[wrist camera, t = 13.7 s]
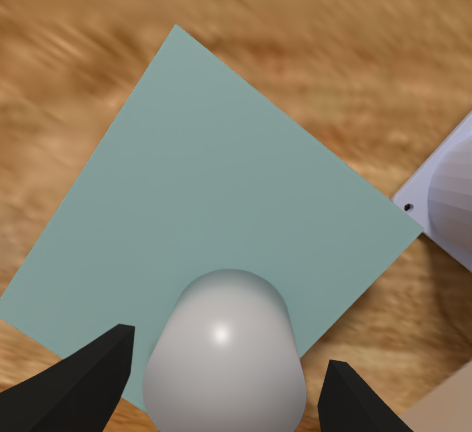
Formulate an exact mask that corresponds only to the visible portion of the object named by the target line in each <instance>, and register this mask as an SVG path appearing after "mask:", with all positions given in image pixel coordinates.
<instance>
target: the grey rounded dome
mask: <svg viewBox="0 0 472 432" xmlns="http://www.w3.org/2000/svg"><path fill="white" fill-rule="evenodd" d="M142 393H143V400H144V404H145V408H146V410H147V413H148V415H149V417H150V419H151V420H152V422H153V424H154V425H155V426H156V428H157V429H158V430H159V431H160V432H294V431H295V430H296V428H297V426H298V425H299V423H300V421H301V419H302V416H303V414H304V411H305V406H306V398H307V392H306V383H305V379H304V375H303V371H302V367H301V362H300V358H299V354H298V350H297V346H296V341H295V337H294V333H293V329H292V325H291V320H290V316H289V312H288V308H287V306H286V303H285V301H284V299H283V297H282V296H281V294H280V293H279V292H278V290H277V289H276V288H275V287H274V286H273V285H272V284H271V283H269V282H268V281H267V280H265V279H264V278H262V277H260V276H258V275H256V274H254V273H251V272H248V271H244V270H238V269H221V270H216V271H212V272H209V273H206V274H204V275H202V276H200V277H198V278H197V279H195V280H194V281H192V282H191V283H190V284H189V285H188V286H187V287H186V288H185V289H184V291H183V292H182V293H181V295H180V297H179V298H178V300H177V302H176V304H175V307H174V309H173V311H172V313H171V315H170V317H169V319H168V321H167V323H166V325H165V328H164V330H163V332H162V334H161V336H160V338H159V340H158V342H157V344H156V346H155V349H154V351H153V353H152V355H151V357H150V359H149V361H148V364H147V366H146V368H145V372H144V376H143V383H142Z"/></svg>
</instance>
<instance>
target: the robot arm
mask: <svg viewBox="0 0 472 432" xmlns="http://www.w3.org/2000/svg"><path fill="white" fill-rule="evenodd" d="M391 201H392V202H393V203H394V204H396V205H397V206H398V207H399V208H401V209H402V210H403V211H404V212H405V213H407V214H408V215H409V216H410V217H411V218H413V219H414V220H415V221H416V222H418V223H419V224H420V225H421V226H422V227H424V228H425V229H424V230H423V233H424V234H425V235H426V236H427V237H429V238H430V239H431V240H432V241H434V242H435V243H436V244H437V245H438V246H440V247H441V248H442V249H443V250H444V251H446V252H447V253H448V254H449V255H451V256H452V257H453V258H454V259H455V260H457V261H458V262H459V263H460V264H462V265H463V266H464V267H465V268H466V269H468V270H469V271H470V272H471V273H472V110H471V111H470V113H469V114H468V115H467V116H466V117H465V118H464V119H463V120H462V121H461V122H460V123H459V125H458V126H457V127H456V128H455V129H454V130H453V131H452V132H451V133H450V134H449V136H448V137H447V138H446V139H445V140H444V141H443V142H442V143H441V144H440V145H439V147H438V148H437V149H436V150H435V151H434V152H433V153H432V154H431V155H430V156H429V157H428V159H427V160H426V161H425V162H424V163H423V164H422V165H421V166H420V167H419V168H418V170H417V171H416V172H415V173H414V174H413V175H412V176H411V177H410V178H409V179H408V180H407V182H406V183H405V184H404V185H403V186H402V187H401V188H400V189H399V190H398V191H397V193H396V194H395V195H394V196H393V197H392V199H391ZM407 204H410V208H409V210H407V211H405V210H404V207H405V205H407ZM134 336H135V326H131V325H125V324H118V325H116V326H114V327H113V328H111V329H110V330H108V331H107V332H105V333H104V334H102V335H101V336H99V337H98V338H96V339H95V340H93V341H92V342H90V343H89V344H87V345H86V346H84V347H83V348H81V349H79V350H78V351H76V352H75V353H73V354H72V355H70V356H68V357H67V358H65V359H63V360H61V361H60V362H58V363H56V364H55V365H53V366H51V367H49V368H48V369H46V370H44V371H43V372H41V373H39V374H37V375H35V376H33V377H31V378H29V379H27V380H26V381H24V382H21V383H19V384H17V385H15V386H13V387H11V388H9V389H7V390H5V391H3V392H1V393H0V432H102V431H103V430H104V428H105V426H106V424H107V422H108V421H109V419H110V417H111V415H112V413H113V412H114V410H115V408H116V406H117V404H118V403H119V400H120V398H121V396H122V393H123V391H124V389H125V386H126V384H127V382H128V379H129V377H130V374H131V366H132V356H133V346H134ZM317 407H318V414H319V421H320V427H321V432H413V431H412V430H411V429H410V428H409V427H408V426H407V425H406V424H405V423H404V422H403V421H402V420H401V419H400V418H399V417H398V416H397V415H396V414H395V413H394V412H393V411H392V410H391V409H390V408H389V407H388V406H387V405H386V404H385V403H384V402H383V400H382V399H381V398H380V397H379V396H378V395H377V394H376V393H375V392H374V391H373V390H372V389H371V388H370V387H369V385H368V384H367V383H366V382H365V381H364V380H363V379H362V378H361V377H360V376H359V375H358V374H357V373H356V371H355V370H354V369H353V368H352V367H351V366H350V365H349V364H348V363H347V362H342V361H336V360H330V361H329V364H328V368H327V372H326V376H325V379H324V383H323V387H322V391H321V394H320V398H319V402H318V405H317Z"/></svg>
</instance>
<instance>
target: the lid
mask: <svg viewBox="0 0 472 432" xmlns="http://www.w3.org/2000/svg"><path fill="white" fill-rule="evenodd" d="M424 229H425V228H424V227H422V226H421V225H420V224H419V223H418V222H416V221H415V220H414V219H413V218H411V217H410V216H409V215H408V214H407V213H405V212H404V211H403V210H402V209H401V208H399V207H398V206H397V205H396V204H394V203H393V202H392V201H391V200H390V199H388V198H387V197H386V196H385V195H384V194H382V193H381V192H380V191H379V190H377V189H376V188H375V187H374V186H373V185H371V184H370V183H369V182H368V181H366V180H365V179H364V178H363V177H362V176H360V175H359V174H358V173H357V172H356V171H354V170H353V169H352V168H351V167H349V166H348V165H347V164H346V163H345V162H343V161H342V160H341V159H340V158H339V157H337V156H336V155H335V154H334V153H332V152H331V151H330V150H329V149H328V148H326V147H325V146H324V145H323V144H322V143H320V142H319V141H318V140H317V139H315V138H314V137H313V136H312V135H311V134H309V133H308V132H307V131H306V130H305V129H303V128H302V127H301V126H300V125H298V124H297V123H296V122H295V121H294V120H292V119H291V118H290V117H289V116H288V115H286V114H285V113H284V112H283V111H281V110H280V109H279V108H278V107H277V106H275V105H274V104H273V103H272V102H271V101H269V100H268V99H267V98H266V97H264V96H263V95H262V94H261V93H260V92H258V91H257V90H256V89H255V88H254V87H252V86H251V85H250V84H249V83H247V82H246V81H245V80H244V79H243V78H241V77H240V76H239V75H238V74H236V73H235V72H234V71H233V70H232V69H230V68H229V67H228V66H227V65H226V64H224V63H223V62H222V61H221V60H219V59H218V58H217V57H216V56H215V55H213V54H212V53H211V52H210V51H209V50H207V49H206V48H205V47H204V46H202V45H201V44H200V43H199V42H198V41H196V40H195V39H194V38H193V37H192V36H190V35H189V34H188V33H187V32H185V31H184V30H183V29H182V28H181V27H179V26H178V25H177V24H175V26H174V27H173V29H172V30H171V32H170V34H169V35H168V37H167V38H166V40H165V41H164V43H163V44H162V46H161V48H160V49H159V51H158V52H157V54H156V55H155V57H154V59H153V60H152V62H151V63H150V65H149V66H148V68H147V70H146V71H145V73H144V74H143V76H142V77H141V79H140V80H139V82H138V84H137V85H136V87H135V88H134V90H133V91H132V93H131V95H130V96H129V98H128V99H127V101H126V102H125V104H124V106H123V107H122V109H121V110H120V112H119V113H118V115H117V116H116V118H115V120H114V121H113V123H112V124H111V126H110V127H109V129H108V131H107V132H106V134H105V135H104V137H103V138H102V140H101V142H100V143H99V145H98V146H97V148H96V149H95V151H94V152H93V154H92V156H91V157H90V159H89V160H88V162H87V163H86V165H85V167H84V168H83V170H82V171H81V173H80V174H79V176H78V178H77V179H76V181H75V182H74V184H73V185H72V187H71V188H70V190H69V192H68V193H67V195H66V196H65V198H64V199H63V201H62V203H61V204H60V206H59V207H58V209H57V210H56V212H55V214H54V215H53V217H52V218H51V220H50V221H49V223H48V225H47V226H46V228H45V229H44V231H43V232H42V234H41V235H40V237H39V239H38V240H37V242H36V243H35V245H34V246H33V248H32V250H31V251H30V253H29V254H28V256H27V257H26V259H25V261H24V262H23V264H22V265H21V267H20V268H19V270H18V271H17V273H16V275H15V276H14V278H13V279H12V281H11V282H10V284H9V286H8V287H7V289H6V290H5V292H4V293H3V295H2V297H1V298H0V318H1V319H3V320H4V321H6V322H7V323H9V324H10V325H12V326H13V327H15V328H16V329H18V330H19V331H21V332H23V333H24V334H26V335H27V336H29V337H30V338H32V339H33V340H35V341H36V342H38V343H39V344H41V345H43V346H44V347H46V348H47V349H49V350H50V351H52V352H53V353H55V354H56V355H58V356H59V357H61V358H62V359H65V358H67V357H68V356H70V355H72V354H73V353H75V352H76V351H78V350H79V349H81V348H83V347H84V346H86V345H87V344H89V343H90V342H92V341H93V340H95V339H96V338H98V337H99V336H101V335H102V334H104V333H105V332H107V331H108V330H110V329H111V328H113V327H114V326H116V325H118V324H125V325H131V326H135V336H134V346H133V356H132V366H131V374H130V377H129V379H128V382H127V384H126V386H125V389H124V391H123V393H122V396H121V397H122V398H124V399H125V400H127V401H128V402H130V403H132V404H133V405H135V406H136V407H138V408H139V409H141V410H142V411H144V412H145V413H147V410H146V408H145V404H144V400H143V393H142V383H143V376H144V372H145V368H146V366H147V364H148V361H149V359H150V357H151V355H152V353H153V351H154V349H155V346H156V344H157V342H158V340H159V338H160V336H161V334H162V332H163V330H164V328H165V325H166V323H167V321H168V319H169V317H170V315H171V313H172V311H173V309H174V307H175V304H176V302H177V300H178V298H179V297H180V295H181V293H182V292H183V291H184V289H185V288H186V287H187V286H188V285H189V284H190V283H191V282H192V281H194V280H195V279H197V278H198V277H200V276H202V275H204V274H206V273H209V272H212V271H216V270H221V269H238V270H244V271H248V272H251V273H254V274H256V275H258V276H260V277H262V278H264V279H265V280H267V281H268V282H269V283H271V284H272V285H273V286H274V287H275V288H276V289H277V290H278V292H279V293H280V294H281V296H282V297H283V299H284V301H285V303H286V306H287V308H288V312H289V316H290V320H291V325H292V329H293V333H294V337H295V341H296V346H297V350H298V354H299V358H301V357H302V356H303V355H304V354H305V353H306V352H307V351H308V350H309V349H310V348H311V346H312V345H313V344H314V343H315V342H316V341H317V340H318V339H319V338H320V337H321V336H322V335H323V334H324V333H325V332H326V331H327V330H328V329H329V328H330V327H331V326H332V325H333V324H334V323H335V322H336V321H337V320H338V319H339V317H340V316H341V315H342V314H343V313H344V312H345V311H346V310H347V309H348V308H349V307H350V306H351V305H352V304H353V303H354V302H355V301H356V300H357V299H358V298H359V297H360V296H361V295H362V294H363V293H364V292H365V291H366V290H367V288H368V287H369V286H370V285H371V284H372V283H373V282H374V281H375V280H376V279H377V278H378V277H379V276H380V275H381V274H382V273H383V272H384V271H385V270H386V269H387V268H388V267H389V266H390V265H391V264H392V263H393V262H394V261H395V259H396V258H397V257H398V256H399V255H400V254H401V253H402V252H403V251H404V250H405V249H406V248H407V247H408V246H409V245H410V244H411V243H412V242H413V241H414V240H415V239H416V238H417V237H418V236H419V235H420V234H421V233H422V232H423V230H424ZM147 414H148V413H147Z"/></svg>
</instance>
